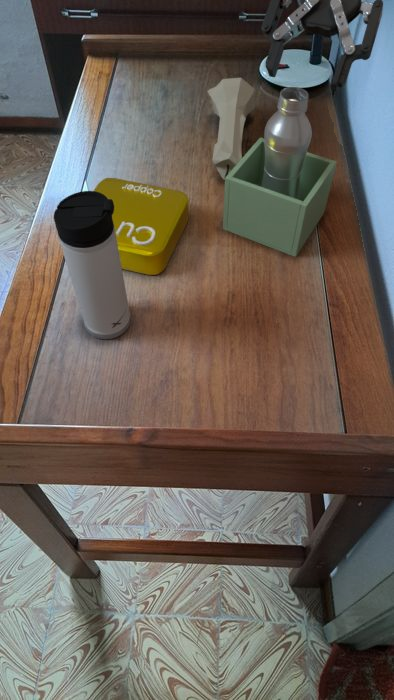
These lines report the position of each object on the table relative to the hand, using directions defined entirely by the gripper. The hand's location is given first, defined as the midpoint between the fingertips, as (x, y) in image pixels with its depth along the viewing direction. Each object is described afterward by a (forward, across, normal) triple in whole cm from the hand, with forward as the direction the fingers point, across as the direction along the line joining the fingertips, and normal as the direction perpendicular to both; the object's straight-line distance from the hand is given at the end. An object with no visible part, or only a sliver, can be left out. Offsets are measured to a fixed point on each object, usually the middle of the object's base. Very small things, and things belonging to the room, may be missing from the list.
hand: (302, 82), depth 66 cm
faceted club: (+6, -15, +24) cm, 29 cm away
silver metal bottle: (+16, 0, +12) cm, 21 cm away
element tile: (+26, -19, +4) cm, 32 cm away
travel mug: (+37, -14, -8) cm, 41 cm away
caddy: (+17, 0, +13) cm, 21 cm away
